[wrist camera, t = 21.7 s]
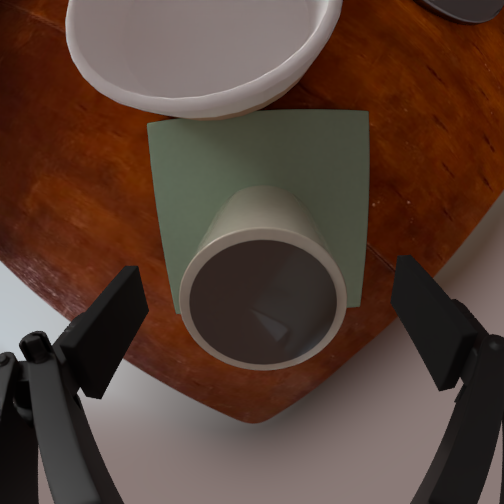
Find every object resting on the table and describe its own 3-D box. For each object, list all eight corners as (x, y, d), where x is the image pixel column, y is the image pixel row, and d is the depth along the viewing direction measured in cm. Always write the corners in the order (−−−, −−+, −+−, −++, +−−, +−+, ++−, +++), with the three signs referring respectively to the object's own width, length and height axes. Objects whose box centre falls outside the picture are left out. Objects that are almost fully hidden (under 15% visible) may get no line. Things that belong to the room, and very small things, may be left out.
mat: (366, 111, 22) (368, 111, 22) (358, 303, 29) (360, 306, 29) (149, 123, 23) (146, 123, 23) (177, 310, 30) (175, 314, 30)
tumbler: (215, 285, 28) (206, 187, 25) (314, 283, 28) (317, 184, 24) (191, 370, 18) (166, 231, 15) (338, 368, 18) (355, 226, 14)
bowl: (257, -71, 15) (255, -124, 8) (358, 68, 20) (398, 40, 13) (91, 14, 19) (40, -14, 11) (169, 160, 24) (126, 171, 16)
